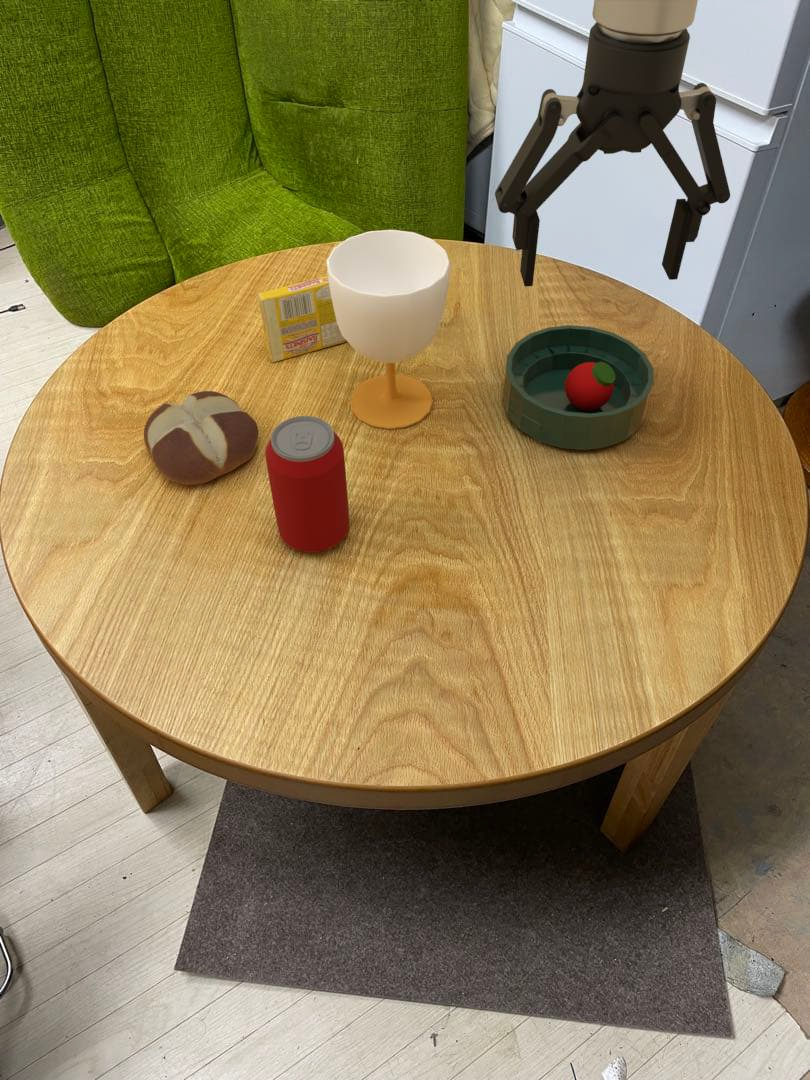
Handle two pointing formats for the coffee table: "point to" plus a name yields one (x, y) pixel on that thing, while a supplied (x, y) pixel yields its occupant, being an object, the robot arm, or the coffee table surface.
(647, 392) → the bowl
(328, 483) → the beverage can
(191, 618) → the coffee table surface
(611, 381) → the tomato
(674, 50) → the robot arm
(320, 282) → the candy box
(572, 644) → the coffee table surface
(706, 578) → the coffee table surface
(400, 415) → the cup
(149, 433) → the bread
